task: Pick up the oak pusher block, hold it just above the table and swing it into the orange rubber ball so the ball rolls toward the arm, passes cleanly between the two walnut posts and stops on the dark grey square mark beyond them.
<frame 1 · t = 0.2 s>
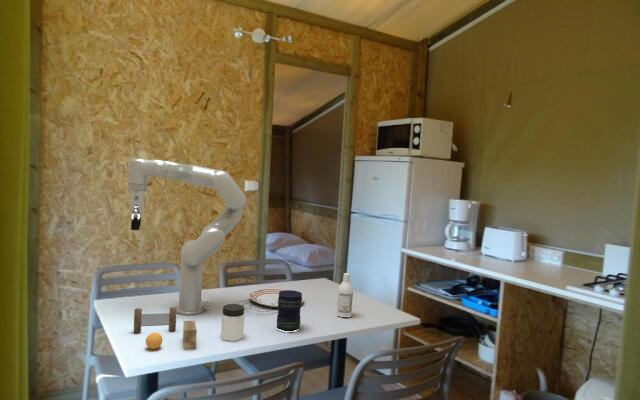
hand: (135, 228, 186), 37 cm above the table, tool pointing down, fingers open, 9 cm apart
pusher block: (189, 344, 160), on the table
dinner plate: (276, 302, 219), on the table
storage jar: (287, 329, 183), on the table
left post: (137, 332, 167), on the table
right post: (172, 330, 171), on the table
ball: (154, 340, 154), on the table
bath foam: (343, 316, 204), on the table
jar: (231, 337, 169), on the table
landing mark: (155, 319, 182), on the table
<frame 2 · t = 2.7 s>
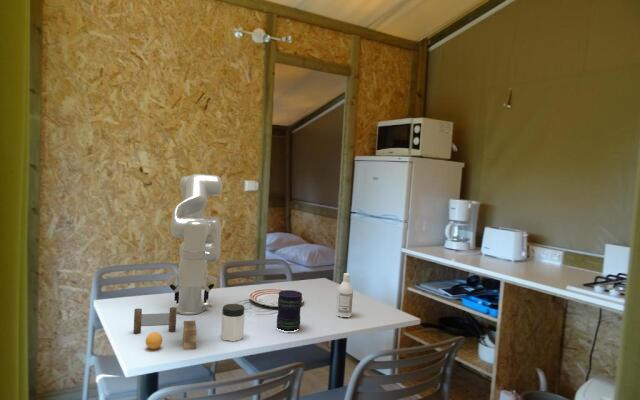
hand: (191, 302, 159), 16 cm above the table, tool pointing down, fingers open, 9 cm apart
nothing on the table moved.
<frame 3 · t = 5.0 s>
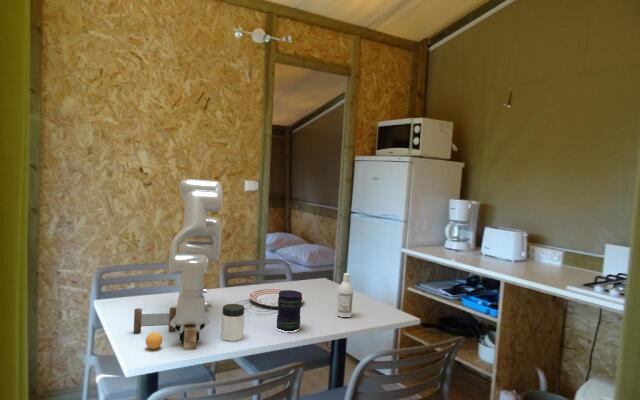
hand: (189, 341, 160), 1 cm above the table, tool pointing down, fingers closed on pusher block, 4 cm apart
pusher block: (189, 344, 160), on the table, touching gripper
everything else where it was.
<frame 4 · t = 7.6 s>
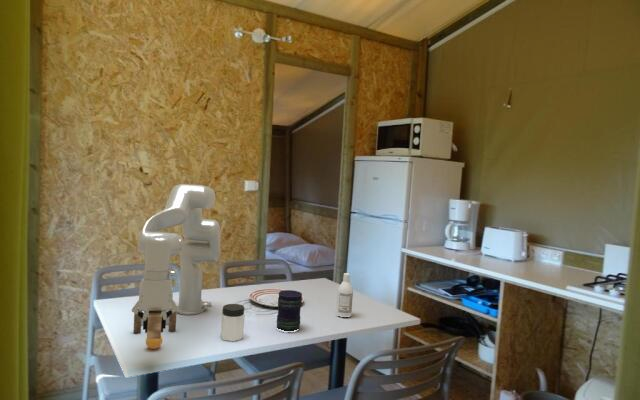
hand: (154, 330, 141), 11 cm above the table, tool pointing down, fingers closed on pusher block, 4 cm apart
pusher block: (154, 333, 141), point 10 cm above the table, touching gripper
everything else where it was.
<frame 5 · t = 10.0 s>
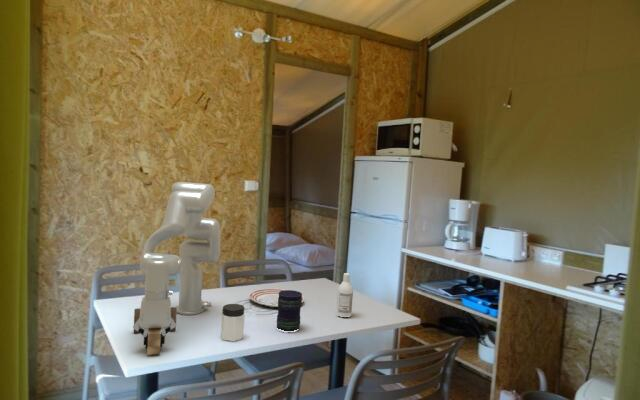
hand: (154, 345, 152), 2 cm above the table, tool pointing down, fingers closed on pusher block, 4 cm apart
pusher block: (153, 348, 152), point 1 cm above the table, touching gripper
ball: (153, 322, 172), on the table
everything else where it was.
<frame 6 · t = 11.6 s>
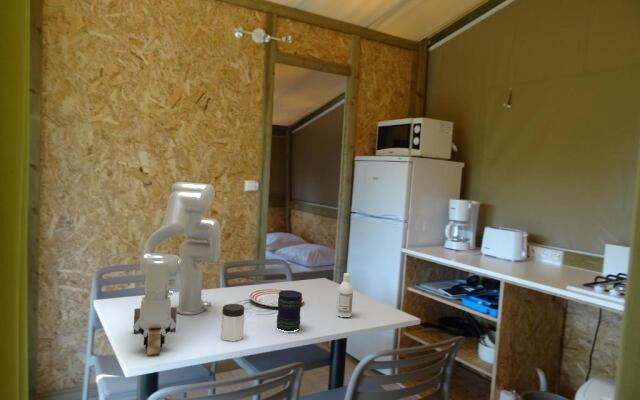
hand: (154, 345, 152), 2 cm above the table, tool pointing down, fingers closed on pusher block, 4 cm apart
pusher block: (153, 348, 152), point 1 cm above the table, touching gripper
ball: (153, 315, 179), on the table
everything else where it was.
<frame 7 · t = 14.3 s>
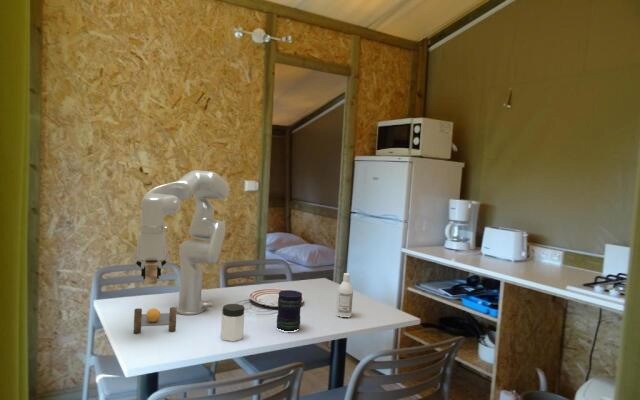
hand: (151, 277, 164), 22 cm above the table, tool pointing down, fingers closed on pusher block, 4 cm apart
pusher block: (151, 279, 164), point 21 cm above the table, touching gripper
everything else where it was.
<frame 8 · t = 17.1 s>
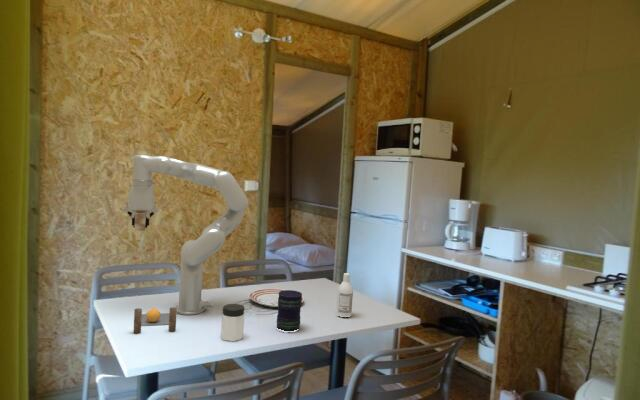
hand: (140, 226, 187), 37 cm above the table, tool pointing down, fingers closed on pusher block, 4 cm apart
pusher block: (140, 228, 187), point 36 cm above the table, touching gripper
everything else where it was.
at the end: ball 2.9 cm from the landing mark (horizontally); ball never touched left post; ball never touched right post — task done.
